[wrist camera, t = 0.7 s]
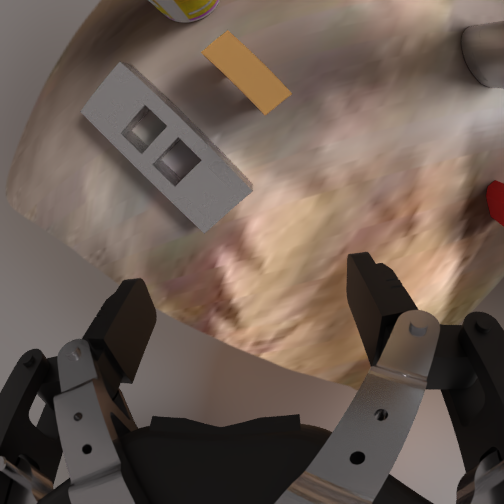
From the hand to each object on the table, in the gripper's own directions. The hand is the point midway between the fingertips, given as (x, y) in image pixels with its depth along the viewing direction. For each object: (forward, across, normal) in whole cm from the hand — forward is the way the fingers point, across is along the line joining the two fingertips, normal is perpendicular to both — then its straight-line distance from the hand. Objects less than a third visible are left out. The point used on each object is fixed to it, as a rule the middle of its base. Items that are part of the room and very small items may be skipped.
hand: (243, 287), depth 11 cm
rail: (+22, +9, -4) cm, 24 cm away
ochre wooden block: (+22, -1, -10) cm, 24 cm away
